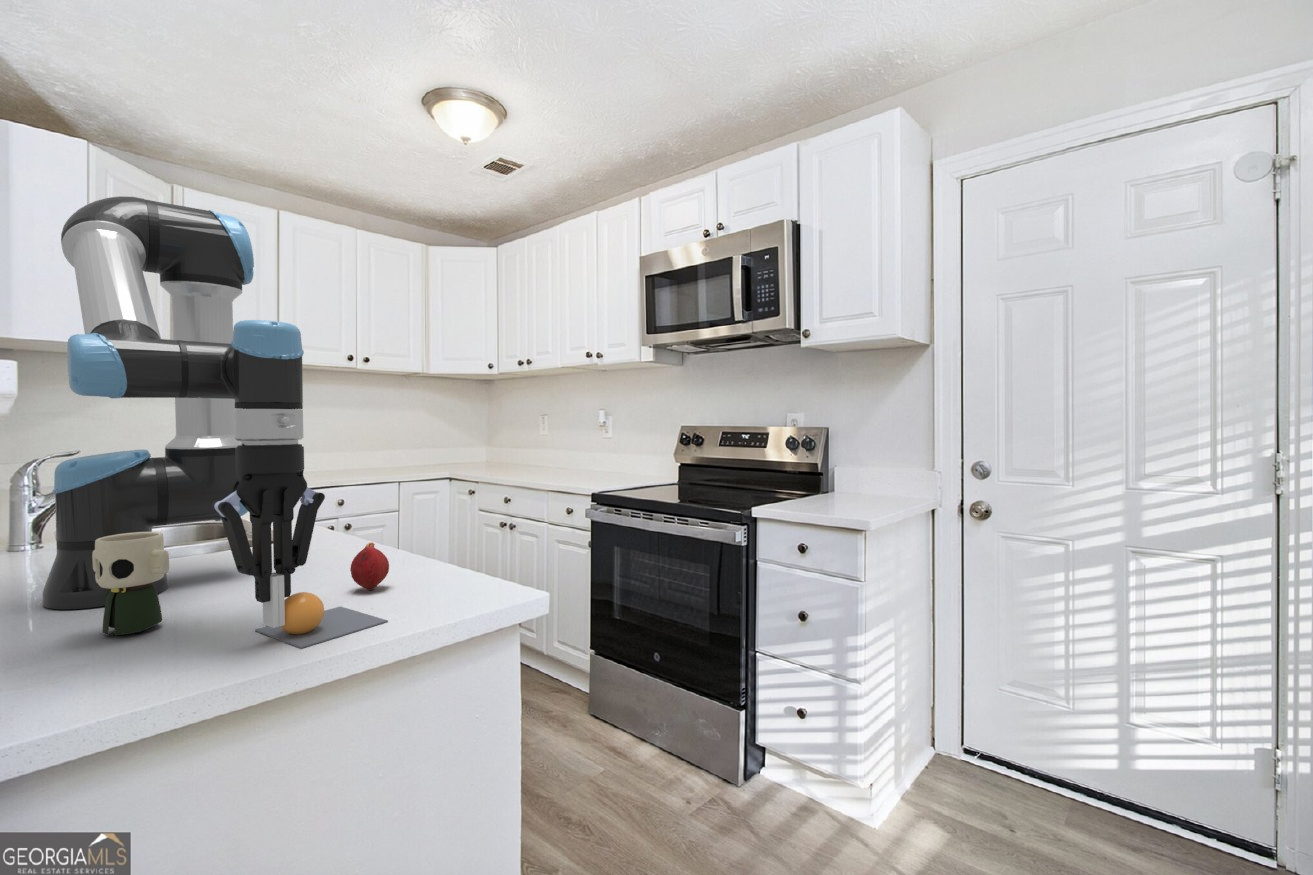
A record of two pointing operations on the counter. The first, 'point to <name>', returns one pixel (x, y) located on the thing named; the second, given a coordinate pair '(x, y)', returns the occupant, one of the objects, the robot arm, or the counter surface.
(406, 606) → the counter surface
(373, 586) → the onion
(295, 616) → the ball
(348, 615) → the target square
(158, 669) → the counter surface
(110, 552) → the character mug
